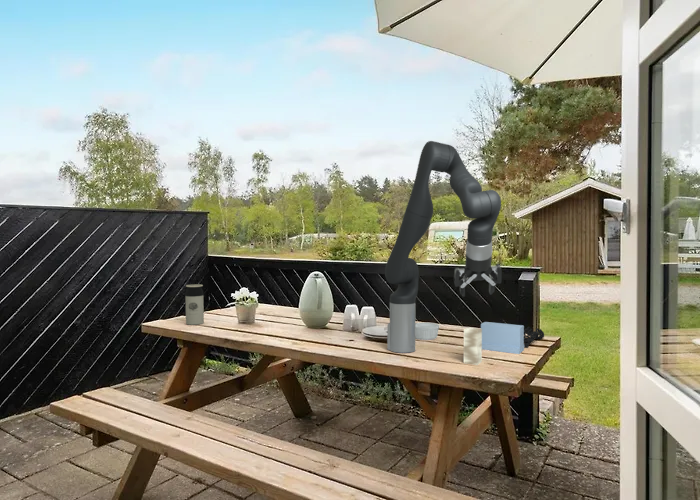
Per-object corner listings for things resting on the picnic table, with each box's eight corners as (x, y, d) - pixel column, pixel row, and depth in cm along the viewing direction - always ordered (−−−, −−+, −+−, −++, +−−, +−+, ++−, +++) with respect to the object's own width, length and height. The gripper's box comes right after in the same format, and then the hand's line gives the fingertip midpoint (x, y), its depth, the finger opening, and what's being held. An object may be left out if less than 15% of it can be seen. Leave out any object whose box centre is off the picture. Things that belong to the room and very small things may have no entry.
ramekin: (405, 337, 202) (405, 324, 201) (421, 333, 210) (421, 321, 210) (428, 342, 194) (428, 328, 194) (444, 337, 202) (444, 324, 202)
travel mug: (190, 321, 238) (190, 284, 237) (206, 322, 236) (206, 284, 236) (182, 325, 230) (182, 286, 229) (199, 325, 229) (198, 286, 228)
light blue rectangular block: (479, 348, 182) (479, 324, 182) (485, 345, 188) (485, 321, 188) (519, 354, 175) (519, 328, 174) (524, 349, 180) (524, 325, 180)
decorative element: (533, 337, 202) (533, 323, 202) (546, 339, 199) (546, 324, 198) (512, 348, 184) (512, 332, 184) (526, 350, 181) (526, 334, 181)
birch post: (463, 363, 163) (463, 329, 162) (468, 360, 167) (468, 327, 166) (477, 365, 160) (477, 331, 160) (481, 362, 164) (481, 328, 164)
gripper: (500, 243, 152) (496, 284, 161) (452, 246, 153) (452, 287, 162) (506, 257, 145) (502, 300, 155) (456, 261, 146) (455, 303, 156)
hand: (476, 293), depth 158 cm, fingers open, 8 cm apart
